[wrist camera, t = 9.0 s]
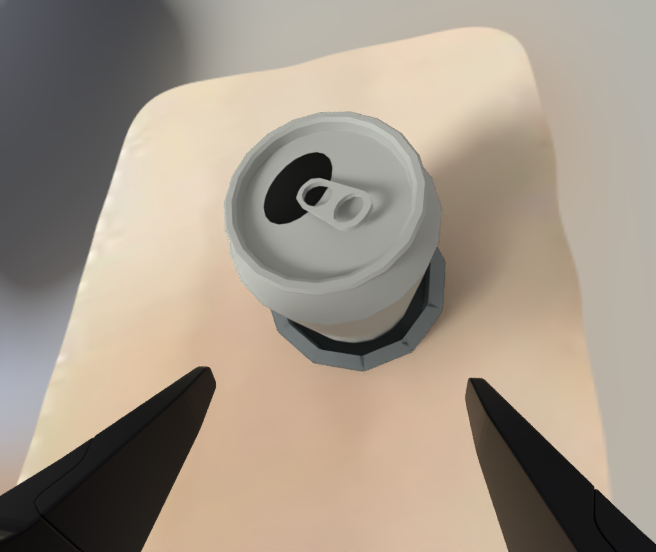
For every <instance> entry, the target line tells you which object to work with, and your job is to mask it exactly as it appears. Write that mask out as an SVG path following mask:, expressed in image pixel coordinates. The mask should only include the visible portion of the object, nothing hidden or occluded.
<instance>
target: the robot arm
mask: <svg viewBox="0 0 656 552" xmlns="http://www.w3.org/2000/svg"><path fill="white" fill-rule="evenodd" d="M215 389H216V381H215V378H214V376H213V373H212V371H211V369H210V368H209V367H205V366H199V367H197V368H195V369H193V370H192V371H191V372H189V373H188V374H186V375H185V376H183V377H182V378H180V379H179V380H177V381H176V382H174V383H173V384H171V385H170V386H168V387H167V388H165V389H164V390H162V391H161V392H159V393H158V394H156V395H155V396H153V397H152V398H151V399H149V400H148V401H146V402H145V403H143V404H142V405H140V406H139V407H137V408H136V409H134V410H133V411H131V412H130V413H128V414H127V415H125V416H124V417H122V418H121V419H119V420H118V421H116V422H115V423H113V424H112V425H110V426H109V427H107V428H106V429H105V430H103V431H102V432H100V433H99V434H97V435H96V436H95V437H94V438H91V439H90V440H88V441H87V442H85V443H84V444H82V445H81V446H79V447H78V448H76V449H75V450H73V451H72V452H70V453H69V454H67V455H66V456H64V457H63V458H61V459H59V460H58V461H56V462H55V463H53V464H51V465H50V466H48V467H47V468H45V469H43V470H42V471H40V472H39V473H37V474H35V475H34V476H32V477H30V478H29V479H27V480H25V481H24V482H22V483H21V484H19V485H17V486H16V487H14V488H13V489H11V490H9V491H7V492H6V493H4V494H2V495H1V496H0V552H141V551H142V549H143V547H144V545H145V542H146V540H147V538H148V536H149V534H150V532H151V530H152V528H153V526H154V524H155V522H156V520H157V518H158V516H159V514H160V511H161V509H162V507H163V505H164V503H165V501H166V499H167V497H168V495H169V493H170V491H171V489H172V487H173V485H174V483H175V480H176V478H177V476H178V474H179V472H180V470H181V468H182V466H183V464H184V462H185V460H186V458H187V456H188V454H189V452H190V449H191V447H192V445H193V443H194V441H195V439H196V437H197V435H198V433H199V431H200V428H201V426H202V423H203V421H204V418H205V415H206V413H207V410H208V407H209V405H210V402H211V399H212V397H213V394H214V391H215ZM465 401H466V406H467V411H468V416H469V420H470V425H471V430H472V435H473V439H474V444H475V448H476V453H477V456H478V460H479V463H480V466H481V469H482V472H483V475H484V478H485V481H486V484H487V487H488V490H489V493H490V497H491V500H492V503H493V506H494V509H495V512H496V515H497V518H498V521H499V524H500V527H501V530H502V533H503V536H504V539H505V542H506V545H507V548H508V552H656V544H655V543H654V542H653V541H652V540H651V539H649V538H648V537H647V536H646V535H645V534H644V533H643V532H642V531H641V530H639V529H638V528H637V527H636V526H635V525H634V524H633V523H632V522H631V521H630V520H629V519H628V518H627V517H626V516H625V515H624V514H622V513H621V512H620V511H619V510H618V509H617V508H616V507H615V506H614V505H613V504H612V503H611V502H610V501H609V500H608V499H607V498H606V497H605V496H604V495H603V494H602V493H601V492H600V491H599V490H597V489H595V488H594V486H593V485H592V484H591V483H590V482H589V481H588V480H587V479H586V478H585V477H584V476H583V475H582V474H581V473H580V472H579V471H578V470H577V469H576V468H575V467H574V466H573V465H572V464H571V463H570V462H569V461H568V460H567V459H566V458H565V457H564V456H563V455H562V454H560V453H559V452H558V451H557V450H556V449H555V448H554V447H553V446H552V445H551V444H550V443H549V442H548V441H547V440H546V439H545V438H544V437H543V436H542V435H541V434H540V433H539V432H538V431H537V430H536V429H535V428H534V427H533V426H532V425H531V424H530V423H529V422H528V421H527V420H526V419H525V418H524V417H522V416H521V415H520V414H519V413H518V412H517V411H516V410H515V409H514V408H513V407H512V406H511V405H510V404H509V403H508V402H507V401H506V400H505V399H504V398H503V397H502V396H501V395H500V394H499V393H498V392H497V391H496V390H495V389H494V388H493V387H492V386H491V385H490V384H489V383H488V382H487V381H486V380H484V379H482V378H469V379H468V383H467V389H466V395H465ZM594 489H595V490H594Z"/></svg>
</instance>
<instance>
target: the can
mask: <svg viewBox="0 0 656 552" xmlns="http://www.w3.org/2000/svg"><path fill="white" fill-rule="evenodd" d="M224 215H225V232H226V234H227V236H228V239H229V241H230V255H231V258H232V260H233V263H234V265H235V268H236V270H237V273H238V275H239V278H240V280H241V282H242V283H243V284H244V285H245V286H246V287H247V289H248V290H249V291H250V292H251V293H252V294H253V295H254V296H255V297H256V299H257V300H258V301H259V302H260V303H261V304H262V305H264V306H266V307H268V308H270V309H271V310H273V311H275V312H277V313H279V314H281V315H283V316H285V317H287V318H289V319H291V320H293V321H295V322H297V323H299V324H301V325H303V326H305V327H307V328H310V329H312V330H314V331H316V332H318V333H320V334H322V335H325V336H327V337H329V338H331V339H333V340H335V341H340V342H346V343H352V344H356V343H362V342H368V341H373V340H375V339H377V338H379V337H381V336H383V335H385V334H387V333H388V332H390V331H391V330H392V329H393V328H394V327H395V326H396V325H397V324H398V323H399V321H400V320H401V319H402V318H403V316H404V314H405V312H406V310H407V308H408V306H409V304H410V302H411V300H412V298H413V296H414V294H415V292H416V290H417V288H418V286H419V284H420V282H421V280H422V278H423V276H424V274H425V271H426V269H427V267H428V265H429V262H430V260H431V258H432V256H433V254H434V251H435V249H436V247H437V245H438V242H439V236H440V220H441V205H440V202H439V199H438V196H437V193H436V190H435V186H434V183H433V180H432V178H431V176H430V175H429V174H428V172H427V171H426V170H425V169H424V167H423V165H422V162H421V159H420V155H419V154H418V153H417V152H416V150H415V149H414V148H413V147H412V145H411V144H410V143H409V142H408V140H407V139H406V138H405V137H404V136H403V134H402V133H400V132H399V131H397V130H395V129H394V128H392V127H391V126H389V125H387V124H386V123H384V122H382V121H381V120H379V119H377V118H373V117H369V116H365V115H361V114H357V113H353V112H320V113H316V114H313V115H309V116H305V117H302V118H298V119H294V120H292V121H290V122H288V123H286V124H285V125H283V126H281V127H279V128H277V129H276V130H274V131H272V132H270V133H268V134H267V135H266V136H265V137H264V138H263V139H262V140H261V141H260V142H259V143H258V144H256V145H255V146H254V147H253V148H252V149H251V150H250V151H249V152H248V153H247V154H246V155H245V157H244V159H243V160H242V162H241V163H240V165H239V166H238V168H237V170H236V171H235V173H234V174H233V176H232V178H231V181H230V185H229V188H228V192H227V195H226V198H225V202H224Z"/></svg>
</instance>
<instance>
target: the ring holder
mask: <svg viewBox="0 0 656 552" xmlns="http://www.w3.org/2000/svg"><path fill="white" fill-rule="evenodd" d="M444 261H445V260H444V258H443V256H442V254H441V253H440V251H439V249H438V247H436V249H435V251H434V254H433V256H432V258H431V260H430V262H429V265H428V267H427V269H426V271H425V274H424V276H423V278H422V280H421V282H420V284H419V286H418V288H417V290H416V292H415V294H414V296H413V298H412V300H411V302H410V304H409V306H408V308H407V310H406V312H405V314H404V316H403V318H402V319H401V320H400V321H399V323H398V324H397V325H396V326H395V327H394V328H393V329H392V330H391V331H390V332H388V333H387V334H385V335H383V336H381V337H379V338H377V339H375V340H373V341H368V342H362V343H356V344H352V343H346V342H340V341H335V340H333V339H331V338H329V337H327V336H325V335H322V334H320V333H318V332H316V331H314V330H312V329H310V328H307V327H305V326H303V325H301V324H299V323H297V322H295V321H293V320H291V319H289V318H287V317H285V316H283V315H281V314H279V313H277V312H275V311H273V310H271V312H272V315H273V318H274V322H275V325H276V328H277V331H279V333H280V334H281V335H282V336H283V337H284V338H285V339H286V340H288V341H289V342H290V343H291V344H292V345H293V346H294V347H296V348H297V349H298V350H299V351H300V352H301V353H302V354H304V355H305V356H306V357H307V358H308V359H309V360H310V361H311V362H313V363H315V364H321V365H327V366H333V367H339V368H345V369H351V370H357V371H362V372H363V371H367V370H369V369H372V368H374V367H377V366H379V365H382V364H384V363H387V362H389V361H392V360H394V359H396V358H399V357H401V356H404V355H406V354H409V353H411V352H412V351H414V350H415V348H416V347H417V345H418V344H419V343H420V341H421V340H422V339H423V337H424V336H425V334H426V333H427V332H428V330H429V329H430V327H431V326H432V325H433V323H434V322H435V320H436V319H437V318H438V316H439V315H440V313H441V312H442V311H443V302H444V280H445V262H444Z"/></svg>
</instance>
